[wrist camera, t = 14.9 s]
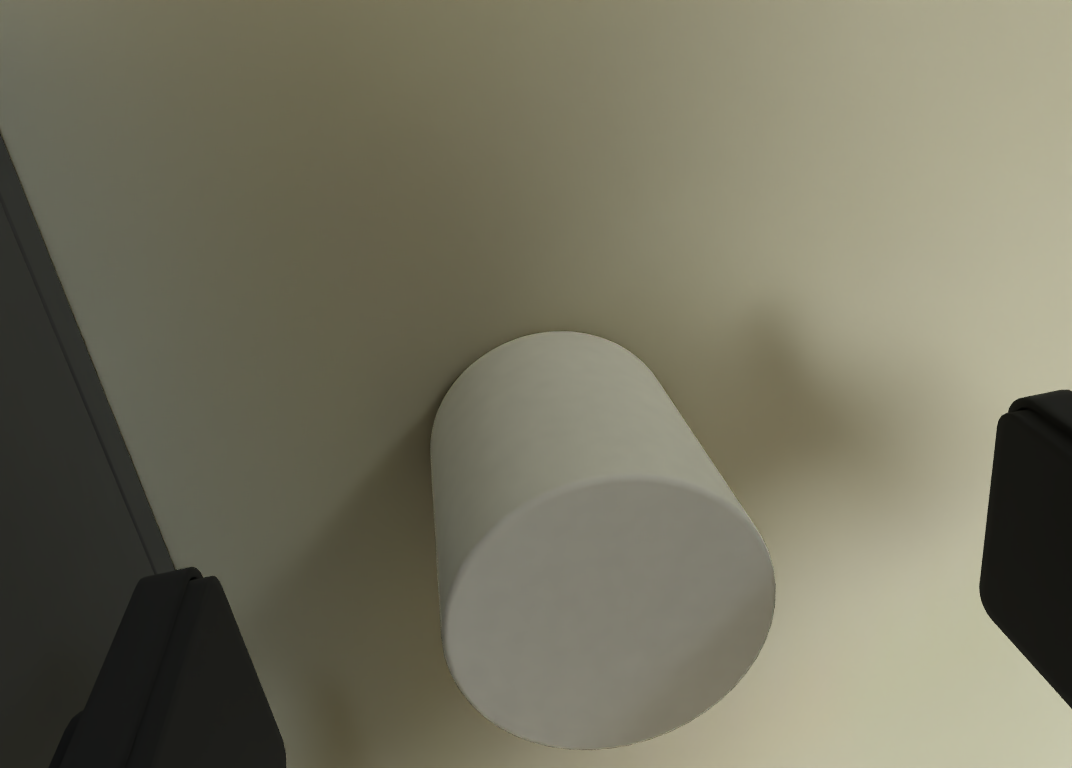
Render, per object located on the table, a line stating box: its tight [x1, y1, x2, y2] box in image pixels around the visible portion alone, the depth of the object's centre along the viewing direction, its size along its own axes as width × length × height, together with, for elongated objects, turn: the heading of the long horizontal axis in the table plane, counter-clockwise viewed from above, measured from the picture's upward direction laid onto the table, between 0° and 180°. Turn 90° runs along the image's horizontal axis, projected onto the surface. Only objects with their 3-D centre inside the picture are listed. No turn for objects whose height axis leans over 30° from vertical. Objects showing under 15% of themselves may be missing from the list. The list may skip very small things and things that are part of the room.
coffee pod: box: [430, 331, 776, 750], centre depth 13 cm, size 4×4×5 cm
